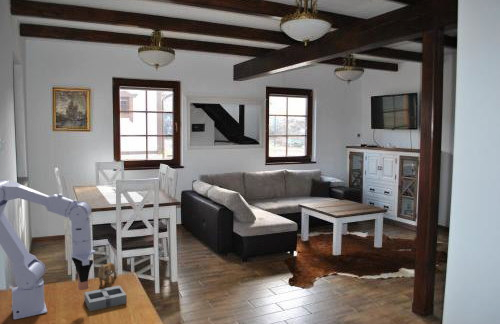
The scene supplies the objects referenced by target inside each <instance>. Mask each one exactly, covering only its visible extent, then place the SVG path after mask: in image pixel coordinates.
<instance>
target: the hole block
mask: <svg viewBox="0 0 500 324" xmlns="http://www.w3.org/2000/svg"><path fill="white" fill-rule="evenodd" d="M83 294H84V302H85V304H86V306H87V309H88V311H89V312H92V311H98V310H99V311H100V310H102V309H103V310H104V309H107V308H111V307H116V306H120V305H125V304H127V301H128V300H127V294H126V292H125V291H124V289H123V288H122V286H121V285H114V286H111V287H110V286H108V287H105V288H101V289H95V290H90V291H85V292H84V293H83Z"/></svg>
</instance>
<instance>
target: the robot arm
mask: <svg viewBox="0 0 500 324" xmlns="http://www.w3.org/2000/svg"><path fill="white" fill-rule="evenodd" d="M17 199H21V200H24V201H27V202H31V203H33V204H34V203H35V204H38V205H42V206H45V209H46V211H47V212H50V213H53V214H56V215H59V216H62V217H65V218H68V219H69V220H70V222H71V227H70V229H71V252H72V253H71V260H72V261H73V264H74V267H75V269H76V274H77V275H78V274H79V279H80V282H86V281H88V282H89V275H90V271H91V267H92V266H93V263H94V260H93V259H90V258H91V257H92V255H93V254H94V255H95V254H96V250H95V249H92V238H91V237H92V236H91V230H92V229H91V220H90V219H91V218H90V216H91V215H92V207H91V205H90V204H89V203H88V202H86V201H85V200H80V201H79V200H78V199H74V200H73V199H70V198H68V197H66V196H64V194H63V193H58V194H56V193H55V194H52V195H48V194H45V193H43V192H40V191H38V190H36V189H34V188H31V187H27V186H26V185H23V184H21V183H19V182H17V181H13V180H12V181H11V180H9V179H5V178H4V179H0V246H1V248H2V249H3V250H4V252H5V254H6V256H7V257H8V259H9V260H10V261H11V263H12V264H11V265H12V266H11V267H12V268H11V273H12V274H13V276H14V283H15V285H16V286H15V287H12V288H11V301H12V302H11V303H12V304H11V308H10V309H11V312H12V315H13V317H12V318H13V320H19V319H23V318H29V317H33V316H36V315H42V314H46V313H48V309H47V305H46V302H45V285H44V284H45V283H44V279H43V277H44V275H45V274H46V269H47V268H46V265H45V263H44V262H42V261H41V260H40V259H38V258H37V257H36V255H34V254H32V253H30V252H29V251H28V249H27V248H26V246H25V245H24V243H23V241H22V240H21V238H20V237H19V235H18V233H17V231H16V230H15V228H14V227H13V225H12V224H11V222H10V221H9V219H8V217H7V216H6V215H5V213H4V211H5V207H6V205H7V204H8V202H9V201H10V200H17Z"/></svg>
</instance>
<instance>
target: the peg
mask: <svg viewBox="0 0 500 324" xmlns="http://www.w3.org/2000/svg"><path fill="white" fill-rule="evenodd" d="M77 281H78V282H77V284H78V290H79V291H85V290H88V289H89V280H88V281H86V282H80V279H79V274H77Z"/></svg>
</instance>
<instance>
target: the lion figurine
mask: <svg viewBox="0 0 500 324" xmlns="http://www.w3.org/2000/svg"><path fill="white" fill-rule="evenodd" d="M113 274H114V275H113ZM110 275H113V278H118V277H117V271H116V267H115V264H114V263H113V262H109V263H106V264H102V265H100V266H99V268H98V269H97V278H98V280H99V285H98V287H99V288H102V287H103V284H104V283H103V281H106V284H105V285H106V287H110V285H111V284H110Z"/></svg>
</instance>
